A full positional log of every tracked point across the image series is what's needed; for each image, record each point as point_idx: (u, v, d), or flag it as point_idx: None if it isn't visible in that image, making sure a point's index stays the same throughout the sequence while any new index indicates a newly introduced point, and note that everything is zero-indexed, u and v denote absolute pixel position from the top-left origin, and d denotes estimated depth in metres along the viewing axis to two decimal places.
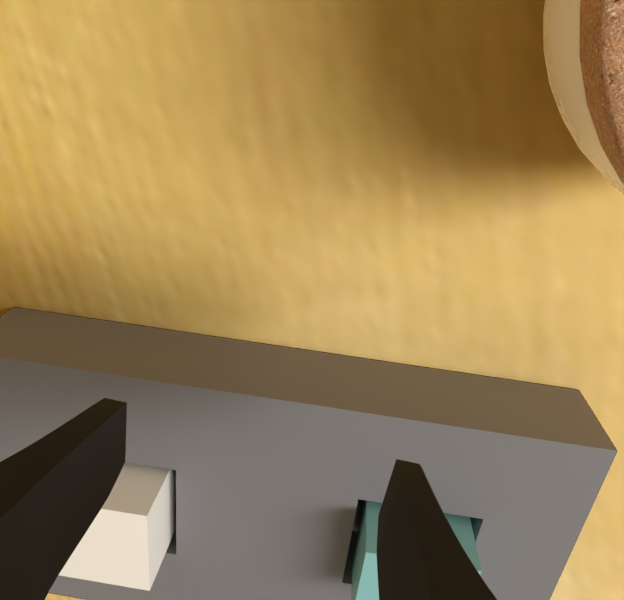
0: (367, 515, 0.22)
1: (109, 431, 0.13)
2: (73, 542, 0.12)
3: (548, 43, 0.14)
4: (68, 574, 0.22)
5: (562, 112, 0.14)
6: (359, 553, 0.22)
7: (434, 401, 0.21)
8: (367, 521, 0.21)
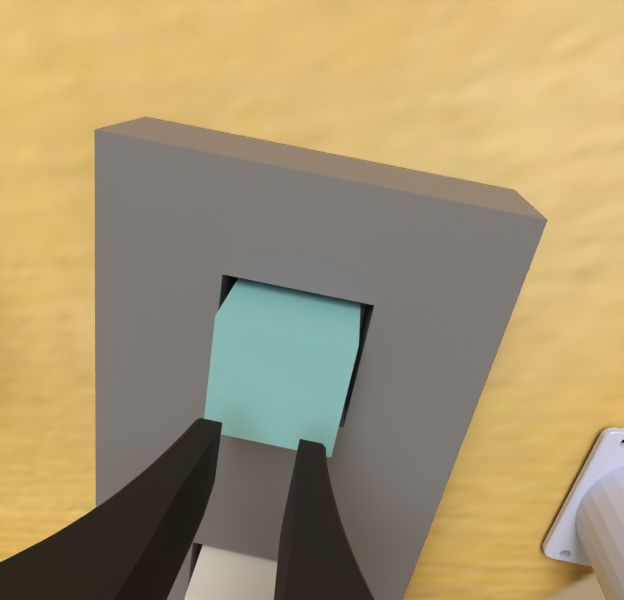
0: None
1: (210, 452, 0.13)
2: (179, 565, 0.12)
3: None
4: None
5: None
6: None
7: None
8: None
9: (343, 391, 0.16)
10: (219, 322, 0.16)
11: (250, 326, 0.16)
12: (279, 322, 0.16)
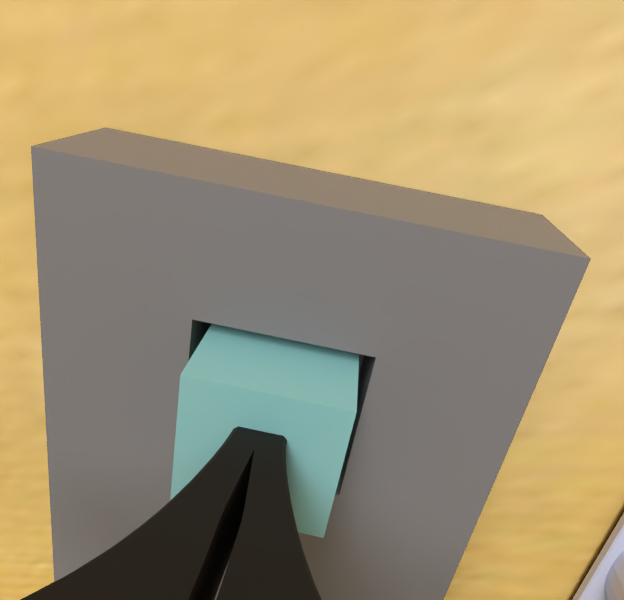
0: None
1: (252, 461, 0.13)
2: (221, 574, 0.12)
3: None
4: None
5: None
6: None
7: None
8: None
9: (338, 464, 0.13)
10: (185, 382, 0.13)
11: (223, 387, 0.13)
12: (259, 381, 0.13)
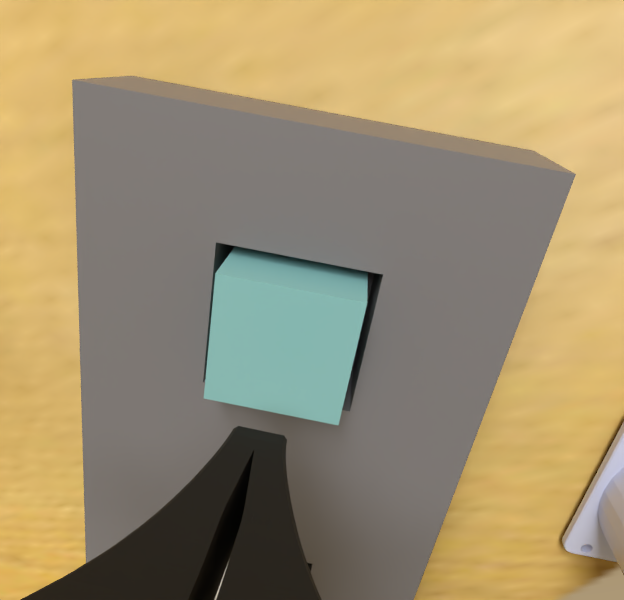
0: None
1: (251, 461, 0.13)
2: (221, 574, 0.12)
3: None
4: None
5: None
6: None
7: None
8: None
9: (351, 353, 0.16)
10: (220, 280, 0.15)
11: (252, 284, 0.15)
12: (283, 280, 0.15)
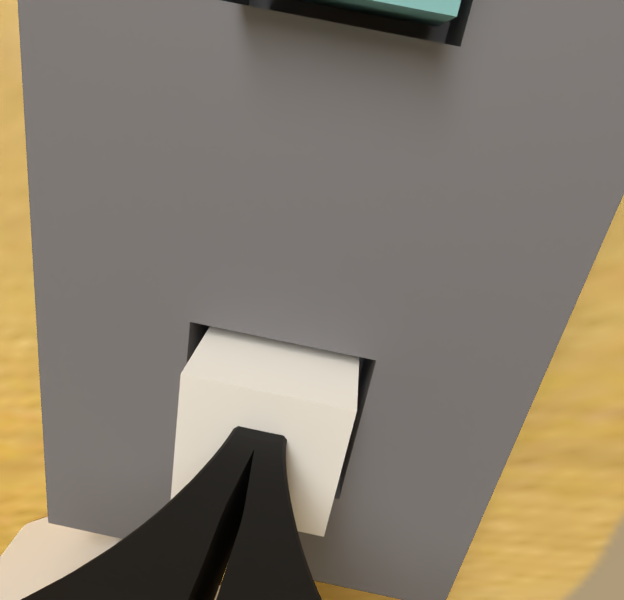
0: None
1: (251, 461, 0.13)
2: (221, 574, 0.12)
3: None
4: (323, 514, 0.14)
5: None
6: None
7: None
8: None
9: None
10: None
11: None
12: None
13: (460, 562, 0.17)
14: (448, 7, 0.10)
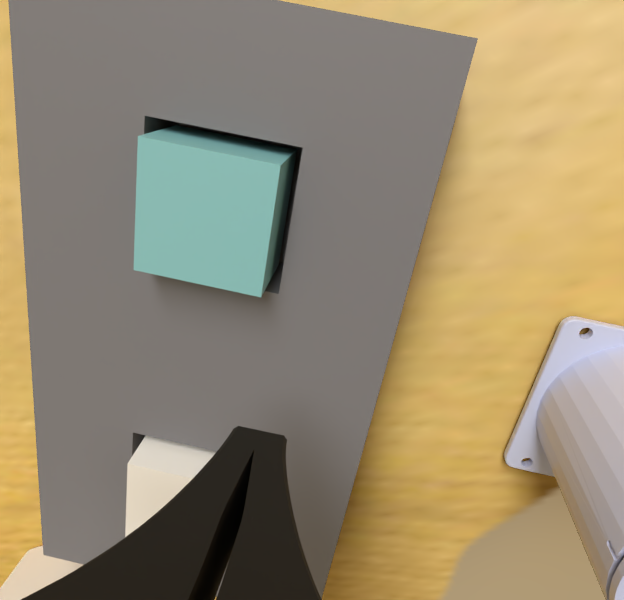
0: None
1: (251, 461, 0.13)
2: (221, 574, 0.12)
3: None
4: None
5: None
6: None
7: None
8: None
9: (268, 219, 0.16)
10: (142, 143, 0.16)
11: (173, 147, 0.16)
12: (203, 146, 0.16)
13: (322, 588, 0.25)
14: (256, 292, 0.17)
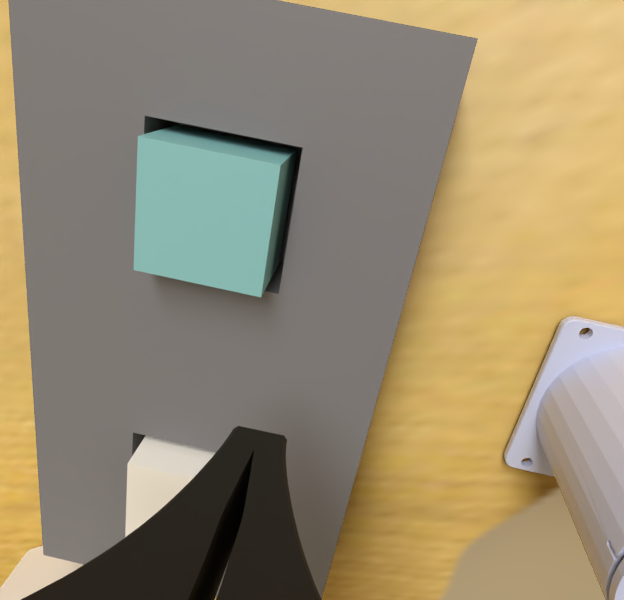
0: None
1: (251, 461, 0.13)
2: (221, 574, 0.12)
3: None
4: None
5: None
6: None
7: None
8: None
9: (268, 219, 0.16)
10: (142, 143, 0.16)
11: (173, 147, 0.16)
12: (203, 146, 0.16)
13: (322, 588, 0.25)
14: (256, 292, 0.17)
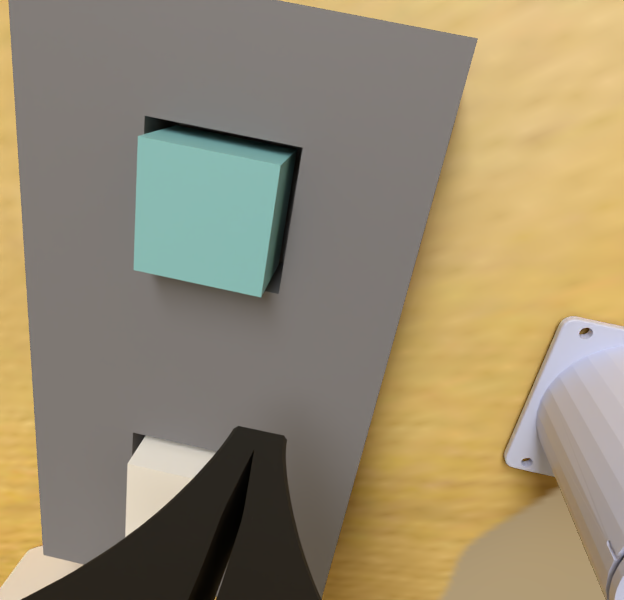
0: None
1: (251, 461, 0.13)
2: (221, 574, 0.12)
3: None
4: None
5: None
6: None
7: None
8: None
9: (268, 219, 0.16)
10: (142, 143, 0.16)
11: (173, 147, 0.16)
12: (203, 146, 0.16)
13: (322, 588, 0.25)
14: (256, 292, 0.17)
